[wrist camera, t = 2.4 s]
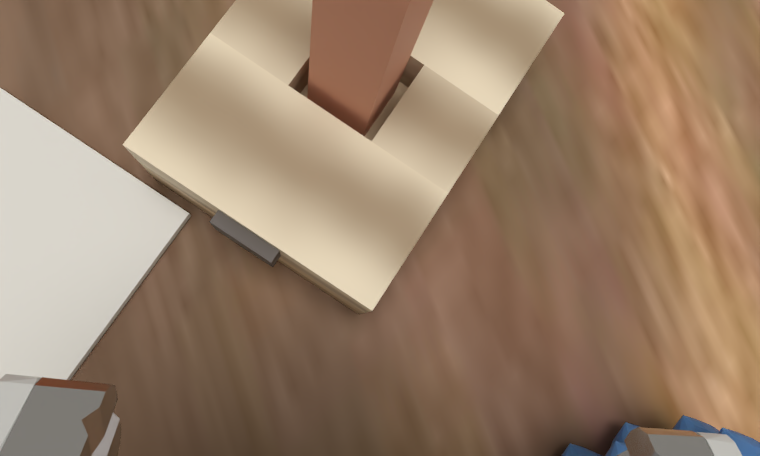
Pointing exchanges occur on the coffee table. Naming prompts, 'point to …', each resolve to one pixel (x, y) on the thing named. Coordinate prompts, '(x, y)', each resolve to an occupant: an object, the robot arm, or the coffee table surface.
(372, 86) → the wooden block
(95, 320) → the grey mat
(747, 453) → the grapes
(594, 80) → the coffee table surface
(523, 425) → the coffee table surface
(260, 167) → the cream block with hole
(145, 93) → the coffee table surface
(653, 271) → the coffee table surface
